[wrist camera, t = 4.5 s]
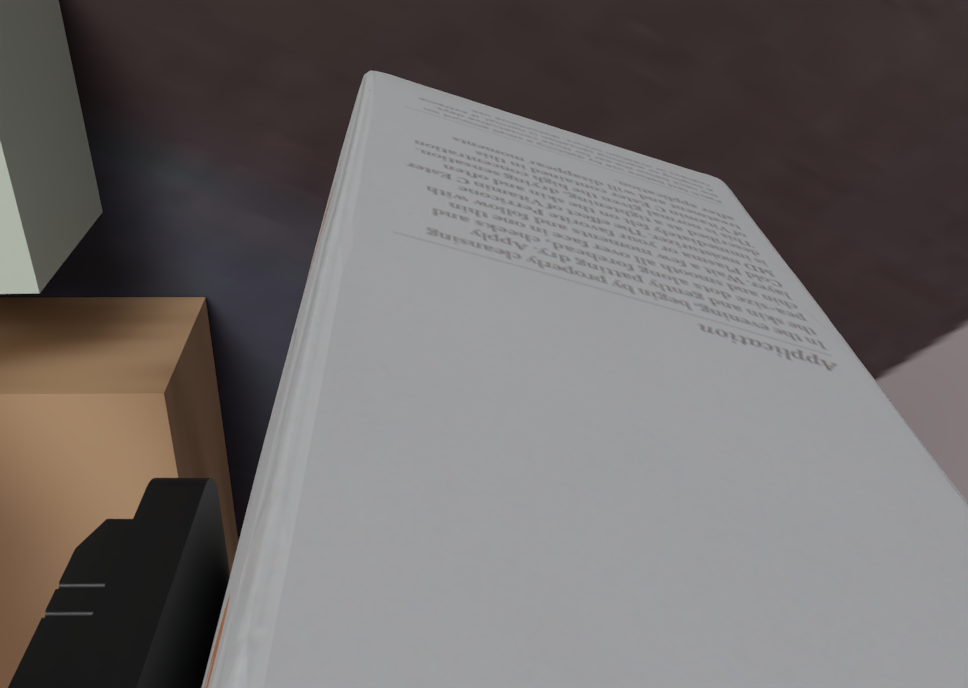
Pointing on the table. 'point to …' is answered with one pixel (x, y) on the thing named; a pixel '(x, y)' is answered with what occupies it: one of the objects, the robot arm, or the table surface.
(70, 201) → the brick
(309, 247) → the table surface
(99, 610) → the robot arm
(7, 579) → the base brick
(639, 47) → the table surface
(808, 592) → the small box
